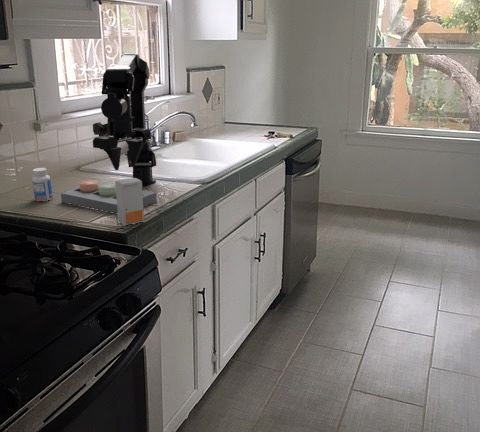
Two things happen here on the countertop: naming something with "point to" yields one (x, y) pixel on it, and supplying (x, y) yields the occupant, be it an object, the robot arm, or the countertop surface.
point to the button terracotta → (89, 186)
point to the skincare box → (129, 201)
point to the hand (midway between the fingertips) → (125, 167)
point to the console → (100, 199)
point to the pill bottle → (41, 185)
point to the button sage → (107, 190)
